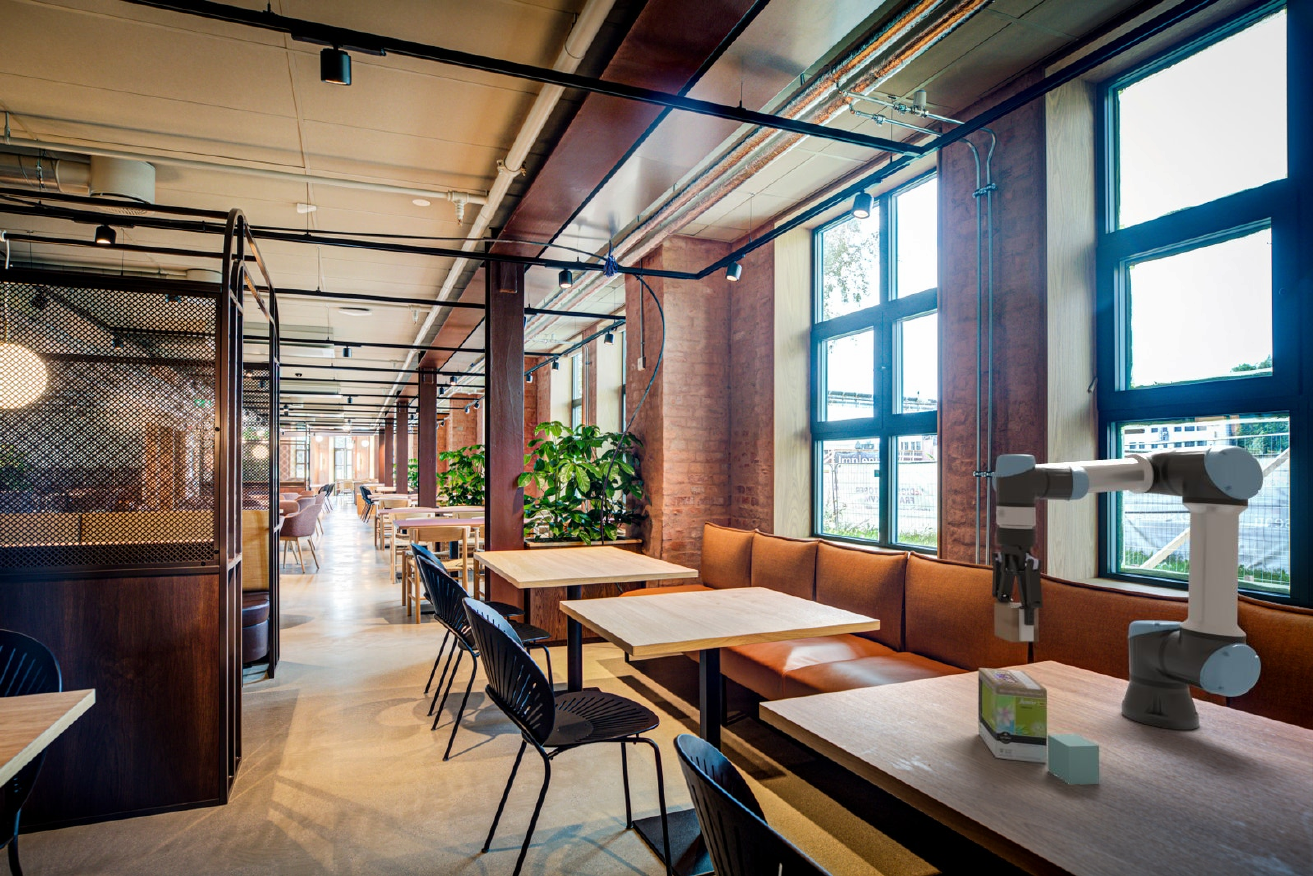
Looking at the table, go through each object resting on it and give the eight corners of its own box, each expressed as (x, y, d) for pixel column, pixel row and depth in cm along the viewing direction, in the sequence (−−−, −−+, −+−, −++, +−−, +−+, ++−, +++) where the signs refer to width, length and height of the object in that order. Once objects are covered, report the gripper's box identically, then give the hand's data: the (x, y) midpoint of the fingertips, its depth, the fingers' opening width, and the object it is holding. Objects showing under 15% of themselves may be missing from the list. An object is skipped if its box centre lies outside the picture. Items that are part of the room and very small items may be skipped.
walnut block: (1020, 635, 153) (1020, 602, 153) (1038, 642, 147) (1038, 607, 147) (994, 635, 152) (994, 602, 153) (1011, 642, 146) (1011, 607, 147)
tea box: (1049, 764, 141) (1048, 688, 142) (995, 759, 143) (994, 684, 144) (1026, 737, 156) (1025, 669, 157) (977, 733, 158) (976, 665, 159)
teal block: (1077, 770, 138) (1076, 734, 138) (1099, 784, 132) (1098, 745, 132) (1048, 771, 137) (1047, 734, 138) (1069, 785, 131) (1068, 746, 132)
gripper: (973, 523, 160) (974, 627, 159) (1027, 530, 141) (1028, 648, 140) (1005, 524, 161) (1005, 627, 160) (1062, 530, 142) (1063, 647, 141)
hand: (1016, 636), depth 150 cm, fingers closed on walnut block, 6 cm apart
